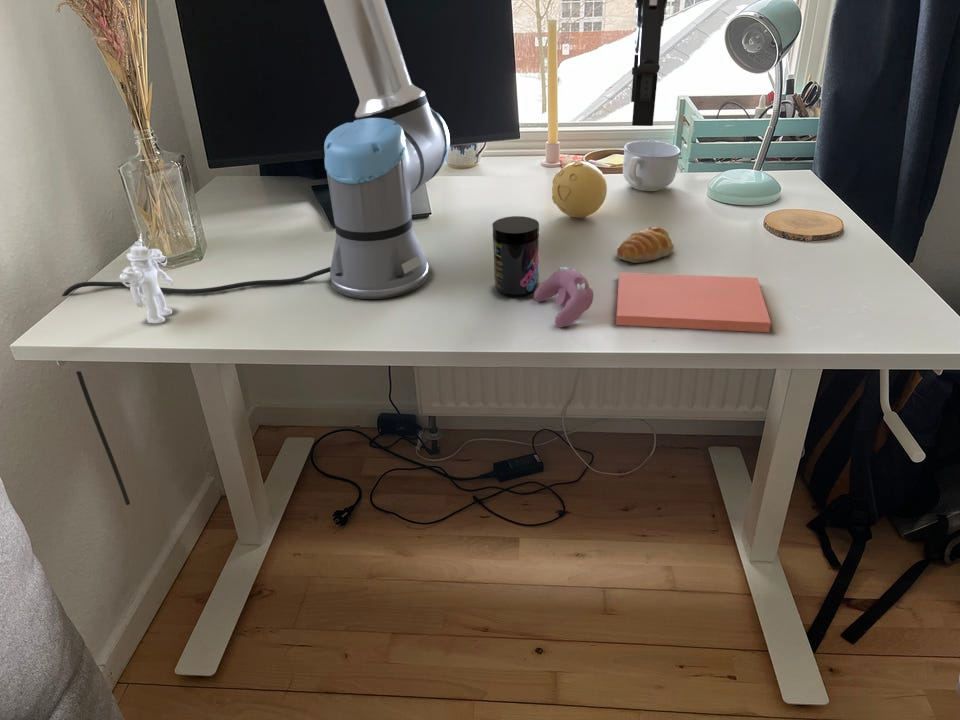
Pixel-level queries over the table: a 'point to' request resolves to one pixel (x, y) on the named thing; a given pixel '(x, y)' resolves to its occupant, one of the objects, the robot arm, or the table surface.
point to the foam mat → (691, 302)
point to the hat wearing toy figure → (147, 281)
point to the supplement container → (516, 256)
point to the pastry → (646, 245)
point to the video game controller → (566, 294)
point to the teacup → (650, 164)
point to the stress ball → (579, 189)
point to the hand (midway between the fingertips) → (641, 113)
